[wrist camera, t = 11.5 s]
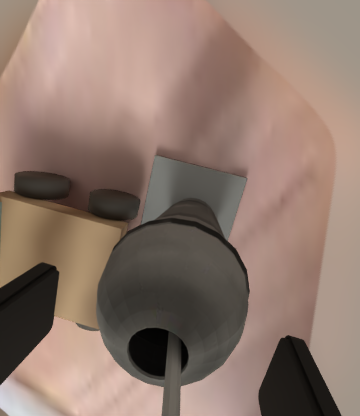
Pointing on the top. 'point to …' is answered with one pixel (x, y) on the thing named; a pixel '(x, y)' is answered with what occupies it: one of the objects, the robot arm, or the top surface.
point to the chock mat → (193, 190)
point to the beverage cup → (173, 299)
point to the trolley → (62, 238)
